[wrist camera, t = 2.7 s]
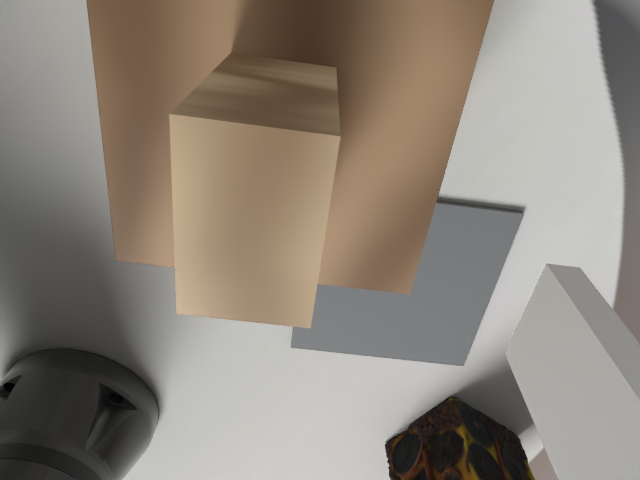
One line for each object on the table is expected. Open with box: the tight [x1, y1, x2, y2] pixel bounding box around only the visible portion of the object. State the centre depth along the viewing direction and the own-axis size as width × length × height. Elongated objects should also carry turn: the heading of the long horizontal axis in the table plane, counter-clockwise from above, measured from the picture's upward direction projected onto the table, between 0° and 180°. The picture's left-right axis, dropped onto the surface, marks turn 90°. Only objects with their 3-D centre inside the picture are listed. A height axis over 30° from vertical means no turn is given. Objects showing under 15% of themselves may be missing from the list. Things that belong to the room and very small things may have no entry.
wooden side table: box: [87, 0, 494, 328], centre depth 22 cm, size 14×14×21 cm
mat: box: [291, 201, 524, 366], centre depth 39 cm, size 16×16×1 cm
